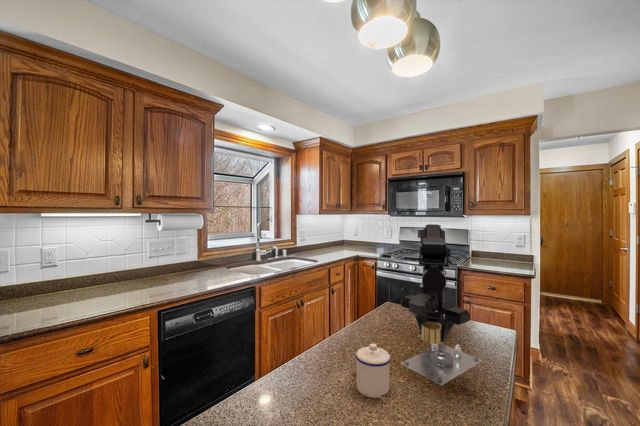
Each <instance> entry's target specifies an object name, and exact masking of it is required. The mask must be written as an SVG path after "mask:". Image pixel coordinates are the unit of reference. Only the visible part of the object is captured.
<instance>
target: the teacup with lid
mask: <svg viewBox="0 0 640 426" xmlns="http://www.w3.org/2000/svg"><path fill="white" fill-rule="evenodd" d="M390 362H391V355H390V354H389V352H388V351H387V350H385V349H383V348H380V347H378V346H377V344H376V343H370V344H369V345H368V346H363V347H361V348H359V349H358V350H357V351H356V352H355V354H354V363H355V366H356V382H355V383H356V389H357V391H358V392H359V393H360V394H361V395H363V396H364V397H366V398H367V397H368V398H372V399H380V398H383V396H384V395H386V394H387V393H388V392H389V391H390V382H391V381H390V374H391V373H390V371H391V370H390V369H391V368H390Z"/></svg>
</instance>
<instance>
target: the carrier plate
mask: <svg viewBox="0 0 640 426" xmlns="http://www.w3.org/2000/svg"><path fill="white" fill-rule="evenodd" d="M430 345H431V348H430V349H427V350H426V351H423V352H420V353H419V354H417V355H414V356H411V357H410V358H408V359H406V360H403V361H401V362H399V365H401V366H403V367H406V368H407V369H409V370H411V371H413V372H414V373H417V374H419V375H421V376H423V377H425V378H427V379H428V380H430V381H432V382H434V383H435V384H438V385H440V386H443V385H446V384H447V383H449V382H450V381H452V380H453V379H455V378H457V377H458V376H461V374H463V373H465V372H467V371H469V370H470V369H471V368H474V367H476V366H477V365H478V364H480V363H482V362H484V359H480V358H478V357H475V356H474V355H470V354H468V353H466V352H463V351H462V347H461V345H460V344H457V343H456V344H455V345H454V348H453V347H451V346H448V345H446V344H444V343H442V344H430Z"/></svg>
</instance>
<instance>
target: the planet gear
mask: <svg viewBox="0 0 640 426" xmlns="http://www.w3.org/2000/svg"><path fill="white" fill-rule="evenodd" d="M421 340H422V341H423V342H424V343H428V344H430V345H432V344H438V345H441V344H444V343H445V342H441V324H439V323H435V322H424V323H422V334H421Z"/></svg>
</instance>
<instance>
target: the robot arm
mask: <svg viewBox="0 0 640 426" xmlns="http://www.w3.org/2000/svg"><path fill="white" fill-rule="evenodd" d="M424 227H425V228H423V229H421V231H420V235H419V236H420V239H419V240H420V243H419V257H418V258H419V261H418V263H419V264H418V266H423V267H422V280H421V281H422V286H420V287H419V289H418V290H419V291H418V294H416V295H415V294H409V295H406V296H403V297H402V298H401V301H400V306H401V308H404V309H408V312H410V314H412V315H413V316H414V317H415V320H416V322H417V324H418V327H419V328H418V329H419V334H421V335H422V323H424V322H435V323H439V324H441V342H444V343H445V342H446V340H447V338H448V336H449V334H450V332H451V330H452V328H453V327H454V325H458V326H459V325H462V324H465V323H467V322H470V321H471V314H470V311H468V309H464V308H462V307H458V306H454V307H451V308H446V306H447V301H445V293H446V292H447V287H446V286H447V279H446V276H445V267H446V268H449V267H450V264H452V256H451V252H452V251H451V248H450V246H449V245H448V244H447V243H446V231H444V230H443V229H442V228H441V225H440V224H435V223H434V224H430V223H428V224H425V226H424Z"/></svg>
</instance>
